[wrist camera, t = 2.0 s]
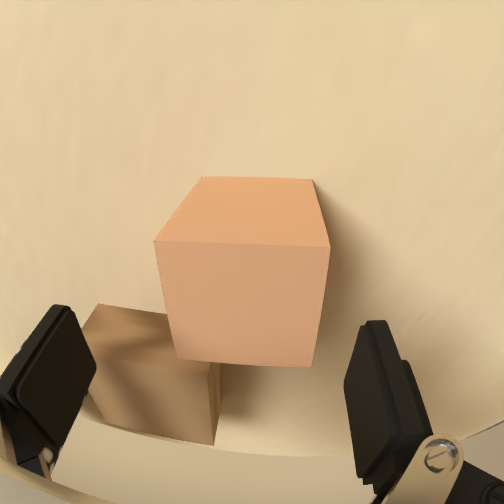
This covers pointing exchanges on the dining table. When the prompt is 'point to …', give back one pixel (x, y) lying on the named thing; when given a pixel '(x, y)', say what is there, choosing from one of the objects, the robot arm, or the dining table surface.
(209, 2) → the dining table surface
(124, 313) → the walnut block
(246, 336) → the peach matte cube
